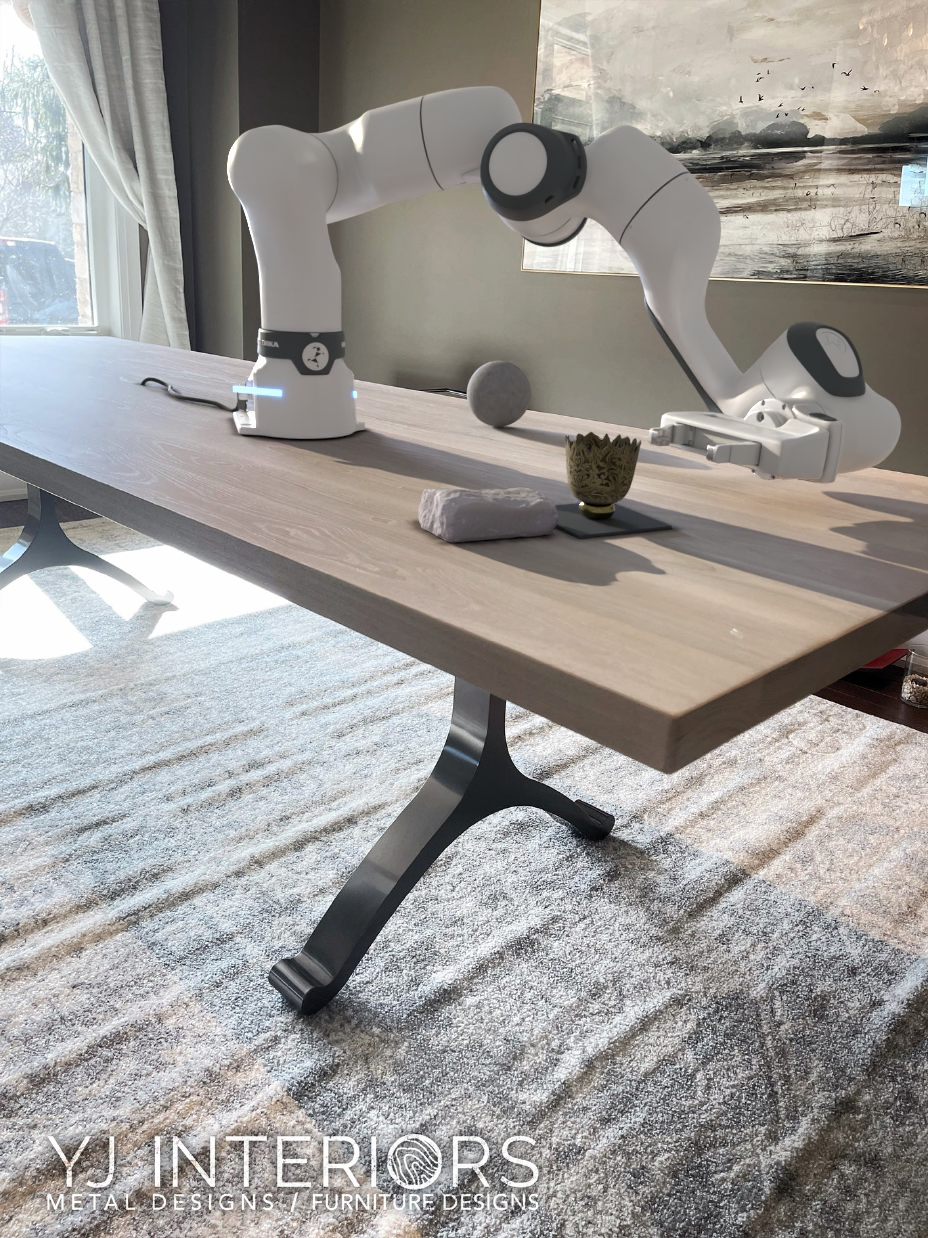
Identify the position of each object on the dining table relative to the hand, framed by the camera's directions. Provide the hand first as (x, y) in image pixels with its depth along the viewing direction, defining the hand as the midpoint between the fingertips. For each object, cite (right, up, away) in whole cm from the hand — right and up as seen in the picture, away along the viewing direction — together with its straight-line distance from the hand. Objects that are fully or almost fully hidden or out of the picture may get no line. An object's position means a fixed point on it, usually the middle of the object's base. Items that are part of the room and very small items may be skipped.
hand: (680, 444), depth 98 cm
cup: (-9, -8, -2) cm, 12 cm away
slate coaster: (-9, -8, -2) cm, 12 cm away
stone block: (-21, -9, -6) cm, 24 cm away
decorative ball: (-17, +12, +51) cm, 55 cm away
